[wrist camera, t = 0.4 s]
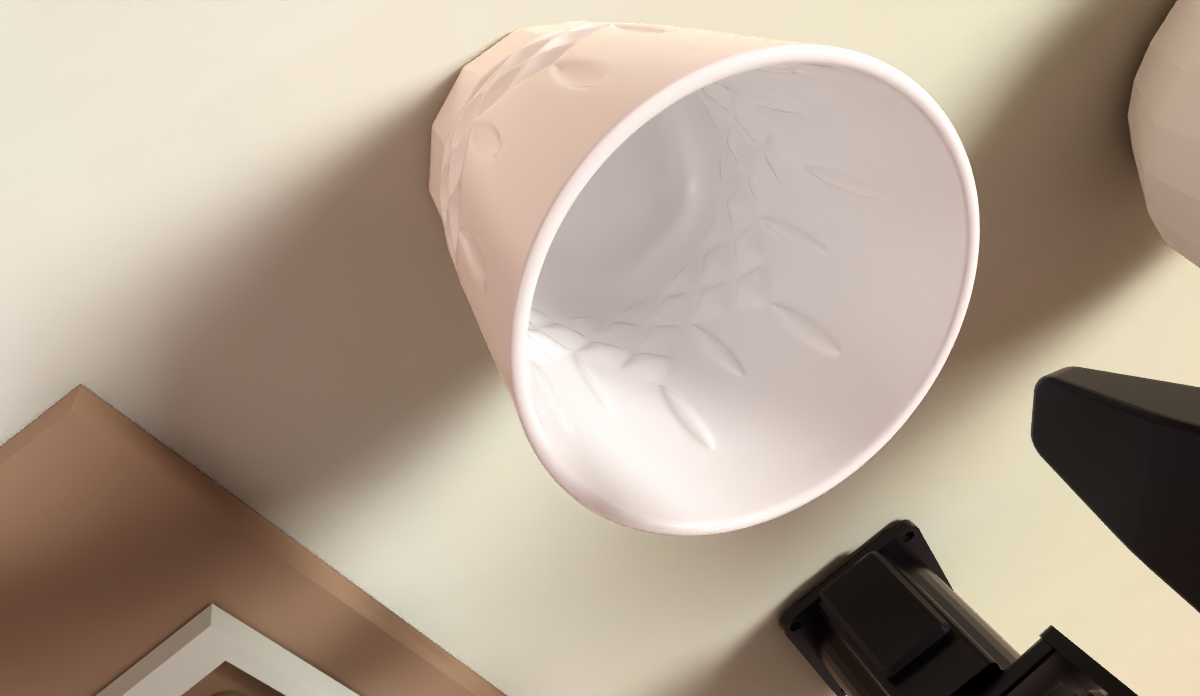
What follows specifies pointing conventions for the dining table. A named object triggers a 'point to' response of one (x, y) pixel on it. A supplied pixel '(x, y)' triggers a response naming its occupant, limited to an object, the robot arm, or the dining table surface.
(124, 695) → the panel
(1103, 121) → the dining table surface
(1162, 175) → the soap bottle
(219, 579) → the board
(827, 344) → the white cup
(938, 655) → the robot arm
